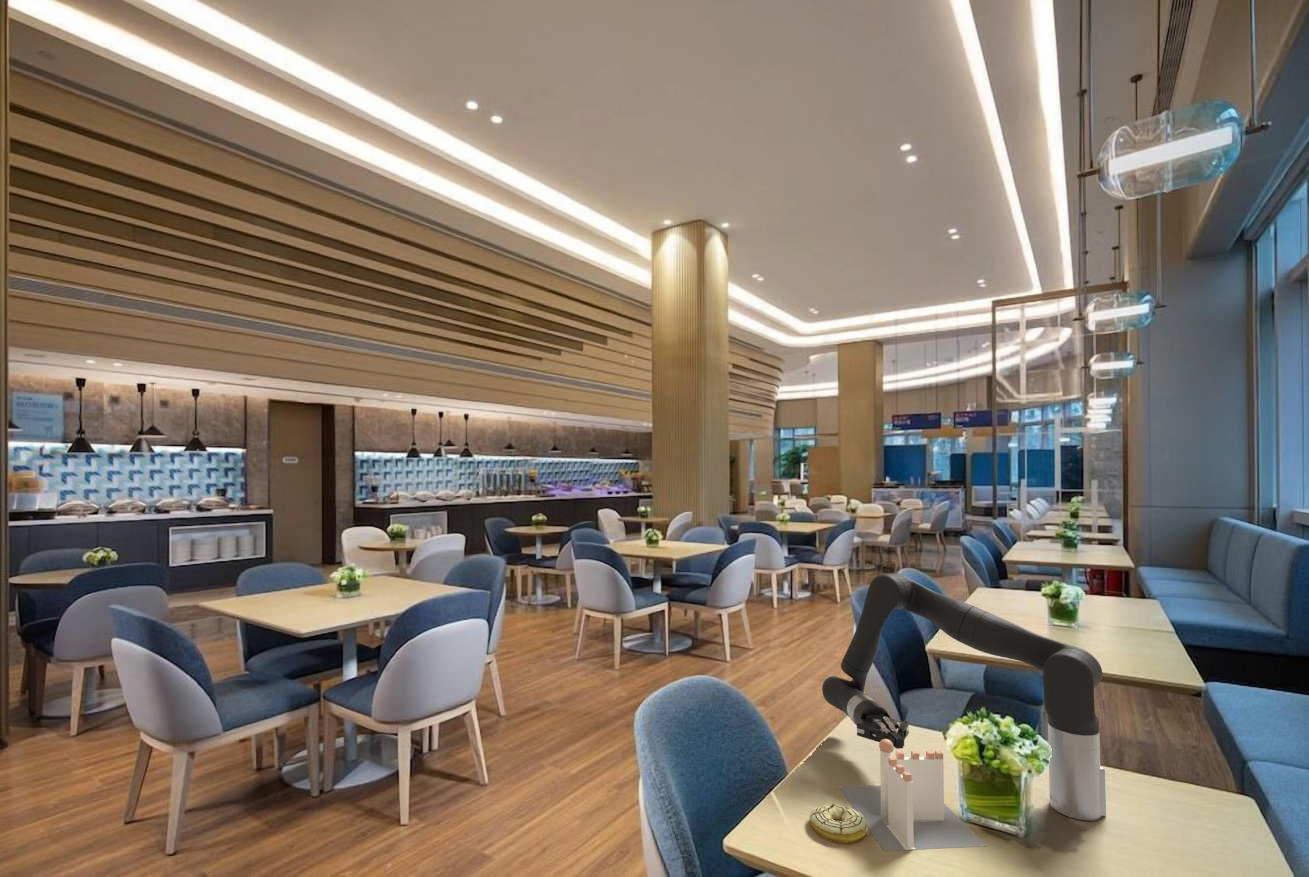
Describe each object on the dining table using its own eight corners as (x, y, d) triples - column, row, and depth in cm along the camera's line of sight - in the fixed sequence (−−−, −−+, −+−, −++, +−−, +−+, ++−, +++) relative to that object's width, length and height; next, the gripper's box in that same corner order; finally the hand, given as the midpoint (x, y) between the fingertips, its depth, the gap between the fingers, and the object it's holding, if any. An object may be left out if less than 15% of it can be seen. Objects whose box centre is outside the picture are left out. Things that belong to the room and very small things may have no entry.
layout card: (924, 786, 147) (924, 783, 147) (986, 848, 123) (986, 845, 123) (838, 789, 145) (838, 786, 145) (884, 853, 121) (884, 850, 121)
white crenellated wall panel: (897, 819, 131) (896, 753, 132) (894, 816, 132) (894, 750, 133) (944, 819, 131) (943, 753, 132) (941, 816, 132) (940, 750, 133)
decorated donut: (833, 812, 136) (833, 794, 136) (877, 836, 127) (877, 816, 128) (799, 828, 130) (799, 809, 130) (843, 854, 121) (843, 833, 122)
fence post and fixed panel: (890, 816, 133) (889, 736, 134) (917, 848, 122) (916, 761, 122) (877, 816, 133) (876, 736, 134) (903, 849, 122) (902, 761, 122)
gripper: (840, 700, 158) (870, 727, 141) (893, 697, 159) (928, 724, 142) (841, 731, 158) (871, 763, 140) (894, 729, 159) (930, 759, 141)
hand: (900, 743), depth 141 cm, fingers closed
